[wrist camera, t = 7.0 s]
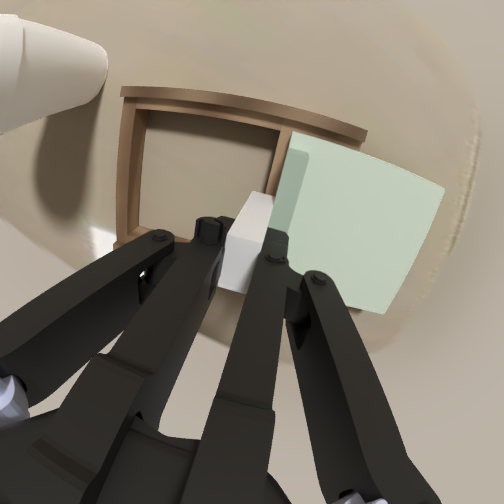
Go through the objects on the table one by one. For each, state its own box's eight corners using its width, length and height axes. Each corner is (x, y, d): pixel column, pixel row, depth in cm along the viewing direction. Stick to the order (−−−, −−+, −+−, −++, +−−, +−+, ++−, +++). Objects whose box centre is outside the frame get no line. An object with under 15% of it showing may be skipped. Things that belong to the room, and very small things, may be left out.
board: (128, 239, 24) (113, 251, 22) (139, 87, 17) (121, 86, 15) (304, 288, 23) (304, 307, 21) (358, 128, 17) (367, 130, 14)
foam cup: (44, 109, 19) (-57, 137, 7) (72, 27, 14) (-33, 22, 3) (101, 132, 19) (-24, 172, 8) (139, 35, 15) (11, 7, 4)
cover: (255, 275, 21) (248, 298, 18) (292, 131, 15) (292, 133, 13) (381, 308, 20) (388, 331, 18) (440, 186, 15) (459, 198, 13)
